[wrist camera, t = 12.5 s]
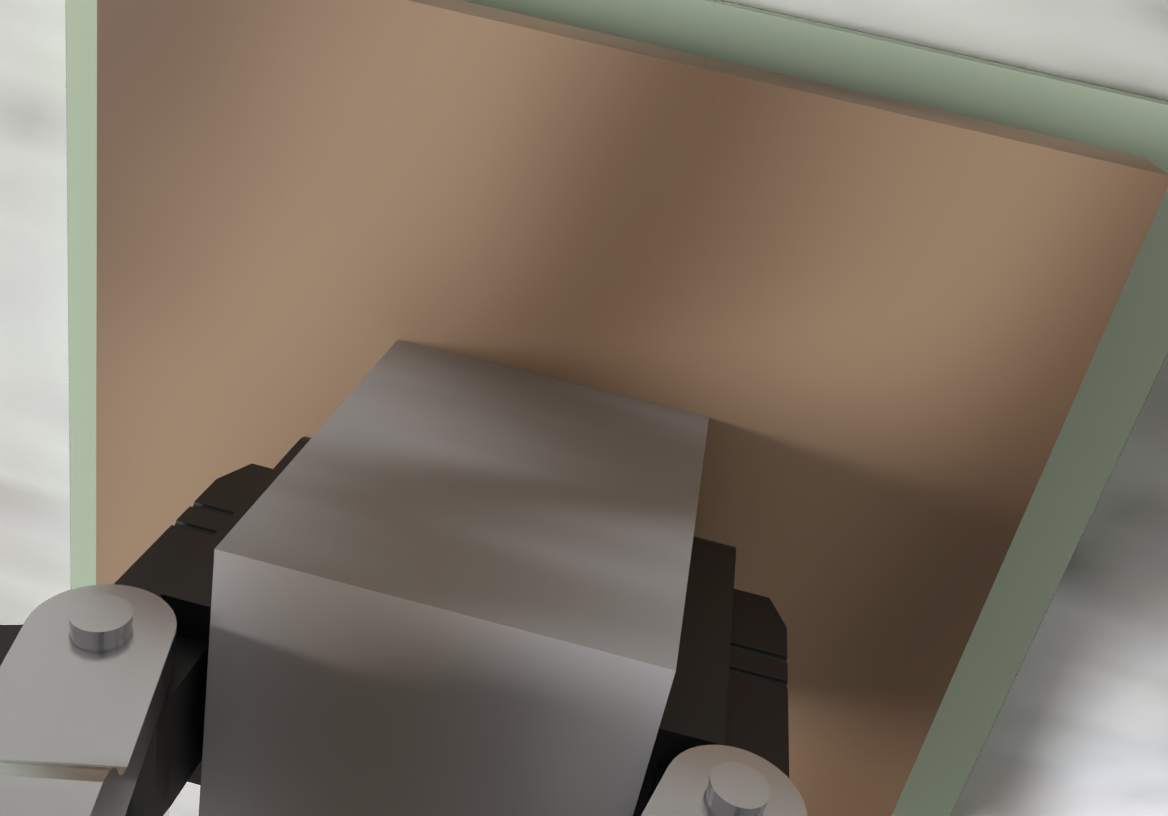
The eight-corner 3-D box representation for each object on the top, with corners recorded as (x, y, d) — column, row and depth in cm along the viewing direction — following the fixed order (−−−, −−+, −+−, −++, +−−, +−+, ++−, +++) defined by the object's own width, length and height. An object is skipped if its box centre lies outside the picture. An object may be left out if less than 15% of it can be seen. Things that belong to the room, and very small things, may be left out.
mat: (1253, 120, 14) (1273, 128, 14) (924, 835, 20) (928, 861, 19) (89, -143, 15) (64, -145, 15) (89, 611, 21) (71, 630, 20)
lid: (1143, 156, 12) (1422, 347, 7) (834, 887, 18) (859, 1318, 12) (142, -73, 13) (-295, -59, 8) (129, 695, 18) (-140, 1022, 13)
